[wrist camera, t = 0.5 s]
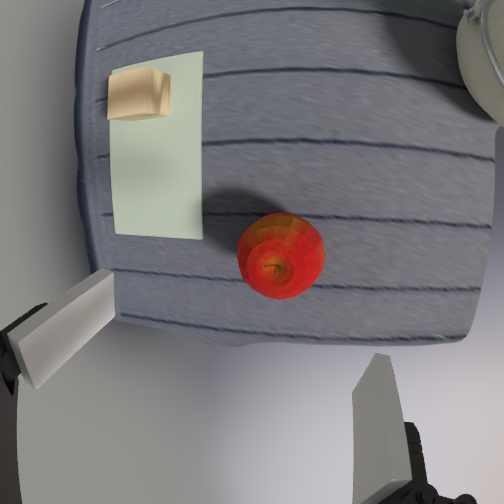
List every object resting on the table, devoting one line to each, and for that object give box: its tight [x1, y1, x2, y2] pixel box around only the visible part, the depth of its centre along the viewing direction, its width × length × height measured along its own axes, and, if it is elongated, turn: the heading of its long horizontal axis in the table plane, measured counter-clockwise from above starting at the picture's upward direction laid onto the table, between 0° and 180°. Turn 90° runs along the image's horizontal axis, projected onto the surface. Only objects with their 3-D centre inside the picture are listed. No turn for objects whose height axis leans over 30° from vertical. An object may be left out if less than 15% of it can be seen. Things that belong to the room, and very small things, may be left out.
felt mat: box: [110, 51, 203, 240], centre depth 38 cm, size 26×15×1 cm, turn 179°
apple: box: [237, 212, 325, 300], centre depth 33 cm, size 9×9×12 cm
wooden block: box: [107, 66, 171, 121], centre depth 33 cm, size 6×6×6 cm
